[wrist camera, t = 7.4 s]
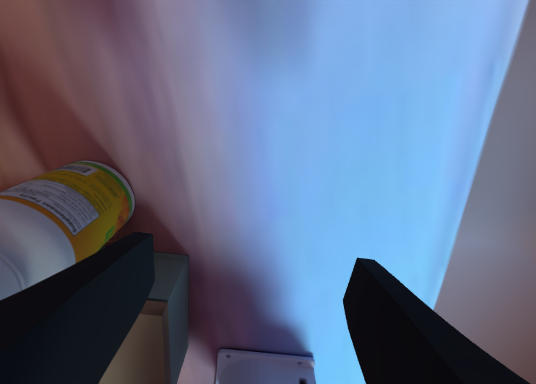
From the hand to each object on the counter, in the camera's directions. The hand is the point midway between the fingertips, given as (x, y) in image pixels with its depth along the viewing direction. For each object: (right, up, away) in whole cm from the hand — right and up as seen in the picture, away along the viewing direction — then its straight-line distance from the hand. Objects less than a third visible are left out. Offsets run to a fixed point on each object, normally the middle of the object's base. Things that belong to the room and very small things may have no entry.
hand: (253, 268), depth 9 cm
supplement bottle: (-12, +3, +9) cm, 15 cm away
